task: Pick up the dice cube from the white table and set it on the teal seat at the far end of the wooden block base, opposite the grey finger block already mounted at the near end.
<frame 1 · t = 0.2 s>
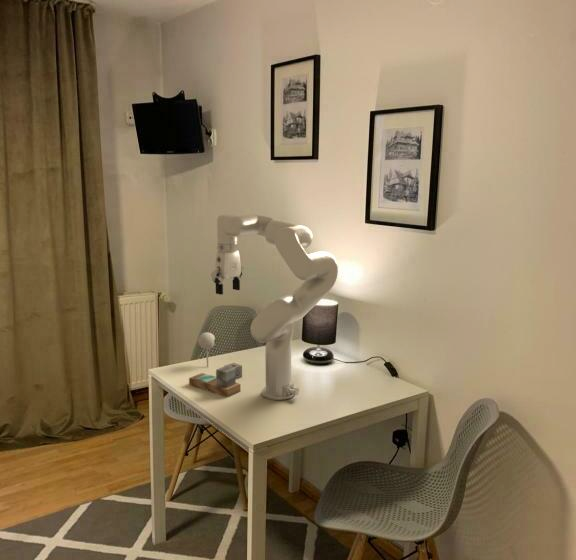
hand: (228, 291, 217), 36 cm above the table, tool pointing down, fingers open, 9 cm apart
wooden block base: (214, 388, 215), on the table
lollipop: (207, 367, 239), on the table
dice cube: (233, 377, 227), on the table
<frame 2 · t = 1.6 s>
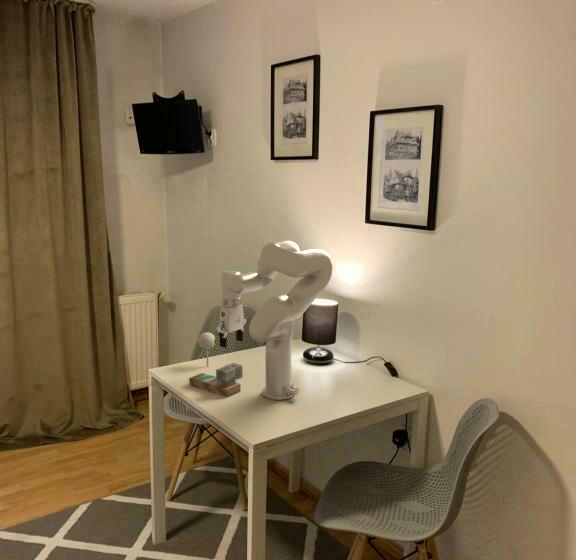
hand: (231, 343, 224), 14 cm above the table, tool pointing down, fingers open, 9 cm apart
nothing on the table moved.
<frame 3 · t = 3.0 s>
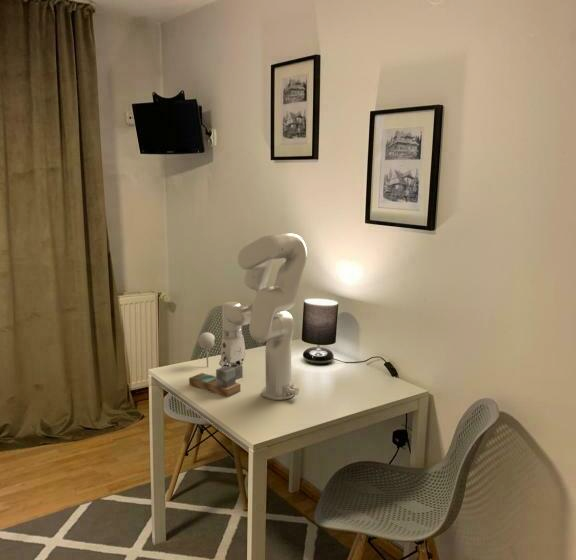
hand: (233, 376, 226), 1 cm above the table, tool pointing down, fingers closed on dice cube, 5 cm apart
dice cube: (233, 378, 226), on the table, touching gripper
everything else where it was.
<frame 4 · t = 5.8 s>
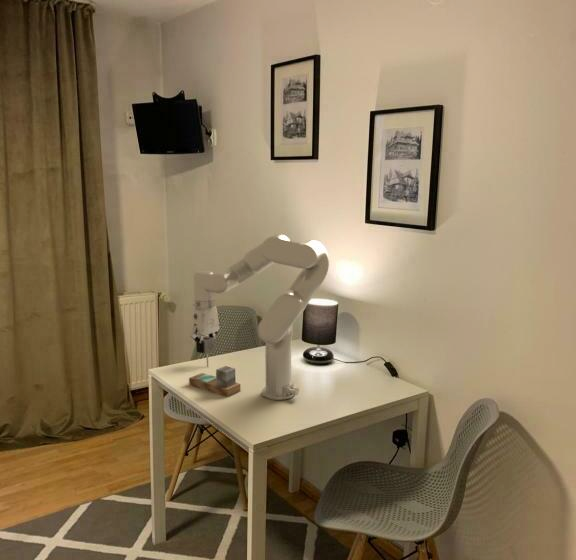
hand: (205, 349, 215), 15 cm above the table, tool pointing down, fingers closed on dice cube, 5 cm apart
dice cube: (206, 351, 215), point 14 cm above the table, touching gripper
everything else where it was.
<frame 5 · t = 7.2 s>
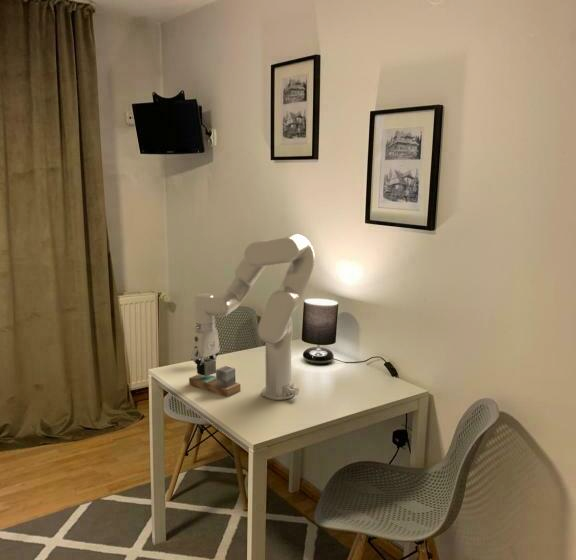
hand: (206, 371, 216), 6 cm above the table, tool pointing down, fingers closed on dice cube, 5 cm apart
dice cube: (206, 373, 216), point 5 cm above the table, touching gripper
everything else where it was.
when the fingers open (5 cm above the table, at t = 8.2 s): dice cube drops 1 cm, resting on wooden block base.
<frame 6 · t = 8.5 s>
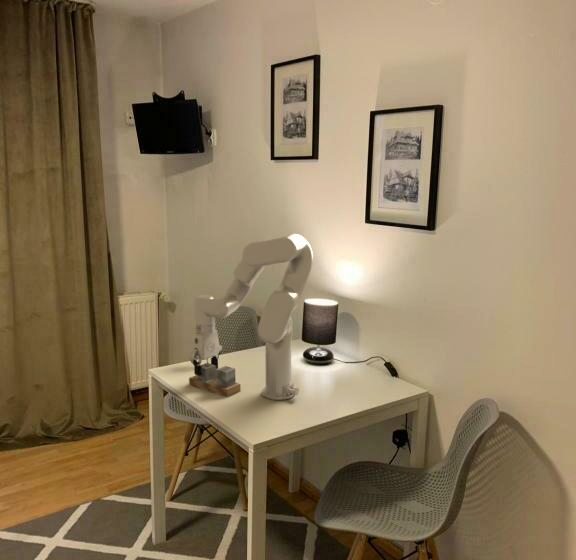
hand: (206, 371, 216), 6 cm above the table, tool pointing down, fingers open, 8 cm apart
dice cube: (207, 378, 216), point 3 cm above the table, touching wooden block base
everything else where it was.
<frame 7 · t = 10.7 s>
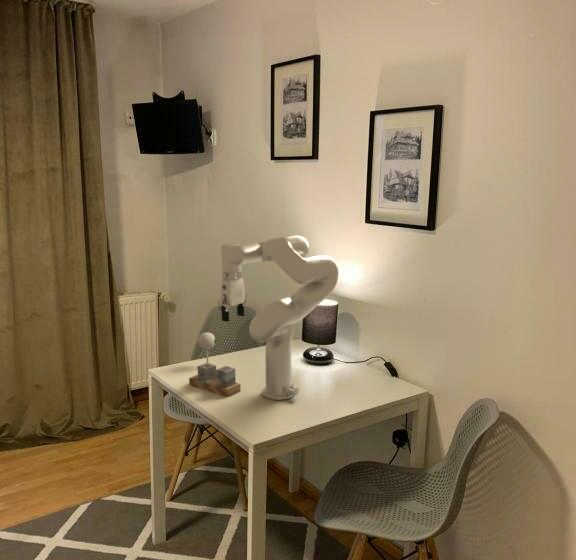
hand: (233, 318, 221), 25 cm above the table, tool pointing down, fingers open, 9 cm apart
nothing on the table moved.
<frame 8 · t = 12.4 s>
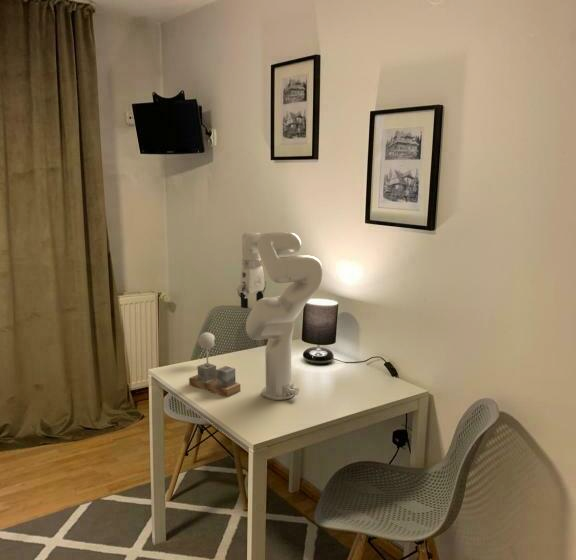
hand: (252, 305, 227), 28 cm above the table, tool pointing down, fingers open, 9 cm apart
nothing on the table moved.
at the end: dice cube 0.4 cm from the target spot on the wooden block base, point 3.1 cm above the wooden block base's base; dice cube tilted 0°; the gripper is holding nothing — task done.
